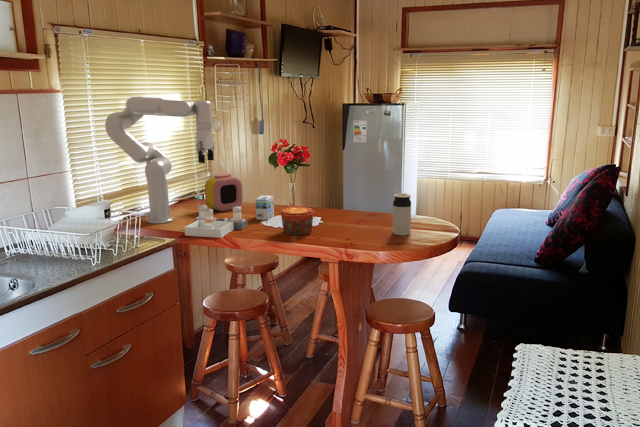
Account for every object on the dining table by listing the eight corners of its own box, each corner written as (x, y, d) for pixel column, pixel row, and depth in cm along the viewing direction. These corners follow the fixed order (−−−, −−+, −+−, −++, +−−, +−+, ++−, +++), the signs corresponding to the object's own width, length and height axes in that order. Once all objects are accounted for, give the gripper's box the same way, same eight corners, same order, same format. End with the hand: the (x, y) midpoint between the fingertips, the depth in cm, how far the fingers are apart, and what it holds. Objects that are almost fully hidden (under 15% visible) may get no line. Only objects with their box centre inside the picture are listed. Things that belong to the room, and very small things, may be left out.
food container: (277, 236, 244) (276, 213, 242) (284, 227, 260) (283, 205, 257) (312, 237, 242) (311, 214, 240) (317, 228, 257) (316, 206, 255)
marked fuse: (203, 231, 251) (202, 210, 248) (207, 229, 254) (206, 208, 252) (211, 231, 250) (210, 210, 247) (215, 229, 253) (214, 208, 251)
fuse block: (193, 226, 263) (193, 218, 262) (200, 223, 270) (199, 215, 269) (241, 229, 257) (241, 221, 256) (247, 225, 264) (247, 217, 263)
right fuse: (232, 228, 260) (231, 207, 258) (235, 226, 264) (234, 206, 261) (240, 228, 259) (239, 208, 257) (243, 226, 263) (242, 206, 260)
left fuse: (198, 226, 264) (196, 206, 262) (201, 224, 268) (200, 204, 266) (205, 226, 263) (204, 206, 261) (209, 224, 267) (208, 204, 265)
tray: (184, 235, 248) (184, 227, 247) (199, 228, 261) (198, 219, 260) (221, 237, 243) (220, 229, 242) (233, 229, 257) (233, 221, 256)
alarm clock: (215, 213, 291) (213, 177, 286) (204, 210, 299) (202, 175, 294) (244, 208, 303) (242, 174, 299) (233, 205, 311) (231, 171, 306)
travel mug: (397, 236, 242) (397, 197, 238) (389, 232, 249) (390, 193, 245) (413, 235, 244) (414, 195, 240) (405, 230, 252) (406, 192, 248)
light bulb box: (268, 220, 275) (267, 199, 272) (255, 219, 276) (255, 199, 274) (274, 215, 285) (273, 195, 283) (262, 215, 286) (261, 195, 284)
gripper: (205, 125, 273) (207, 159, 277) (188, 127, 256) (191, 163, 260) (218, 125, 271) (220, 159, 275) (203, 127, 255) (205, 164, 258)
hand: (206, 161), depth 268 cm, fingers open, 9 cm apart
